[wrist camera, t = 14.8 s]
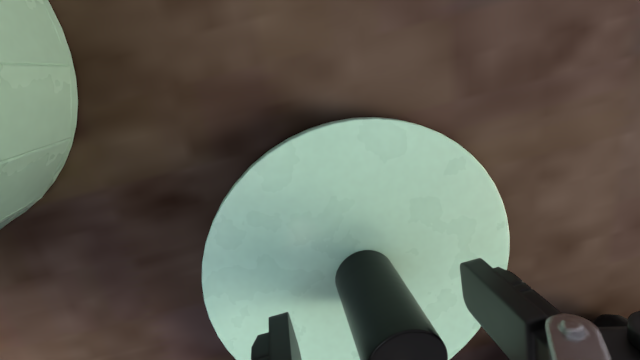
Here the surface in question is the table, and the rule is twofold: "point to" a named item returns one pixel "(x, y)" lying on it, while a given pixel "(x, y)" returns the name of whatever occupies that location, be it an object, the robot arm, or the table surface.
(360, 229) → the lid
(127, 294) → the table surface
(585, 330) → the robot arm
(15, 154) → the cylindrical container
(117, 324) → the table surface
